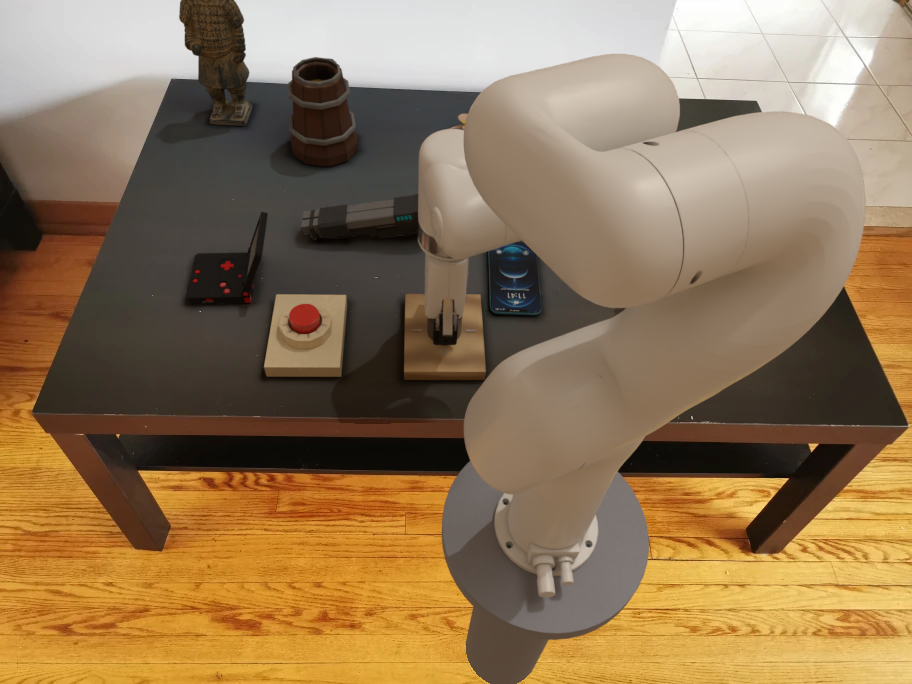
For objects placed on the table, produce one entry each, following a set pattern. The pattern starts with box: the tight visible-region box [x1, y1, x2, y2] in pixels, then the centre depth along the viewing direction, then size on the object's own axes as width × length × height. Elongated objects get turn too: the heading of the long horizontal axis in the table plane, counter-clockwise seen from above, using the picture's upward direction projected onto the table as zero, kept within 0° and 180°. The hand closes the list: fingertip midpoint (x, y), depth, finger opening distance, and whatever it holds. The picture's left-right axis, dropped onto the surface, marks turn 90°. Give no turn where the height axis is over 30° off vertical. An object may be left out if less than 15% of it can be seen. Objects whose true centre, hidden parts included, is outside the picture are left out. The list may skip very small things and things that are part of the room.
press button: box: [289, 304, 320, 334], centre depth 96 cm, size 4×4×2 cm
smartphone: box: [487, 241, 542, 316], centre depth 108 cm, size 8×1×15 cm
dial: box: [427, 315, 463, 340], centre depth 97 cm, size 5×5×5 cm
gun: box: [300, 193, 418, 241], centre depth 111 cm, size 4×20×10 cm, turn 92°
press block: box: [263, 293, 348, 378], centre depth 98 cm, size 13×10×4 cm
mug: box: [287, 56, 359, 168], centre depth 122 cm, size 16×12×15 cm
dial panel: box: [403, 293, 487, 381], centre depth 99 cm, size 14×11×2 cm
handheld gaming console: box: [185, 211, 269, 305], centre depth 101 cm, size 9×12×10 cm
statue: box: [178, 0, 253, 127], centre depth 119 cm, size 10×8×30 cm
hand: (444, 326), depth 98 cm, fingers closed on dial, 4 cm apart
